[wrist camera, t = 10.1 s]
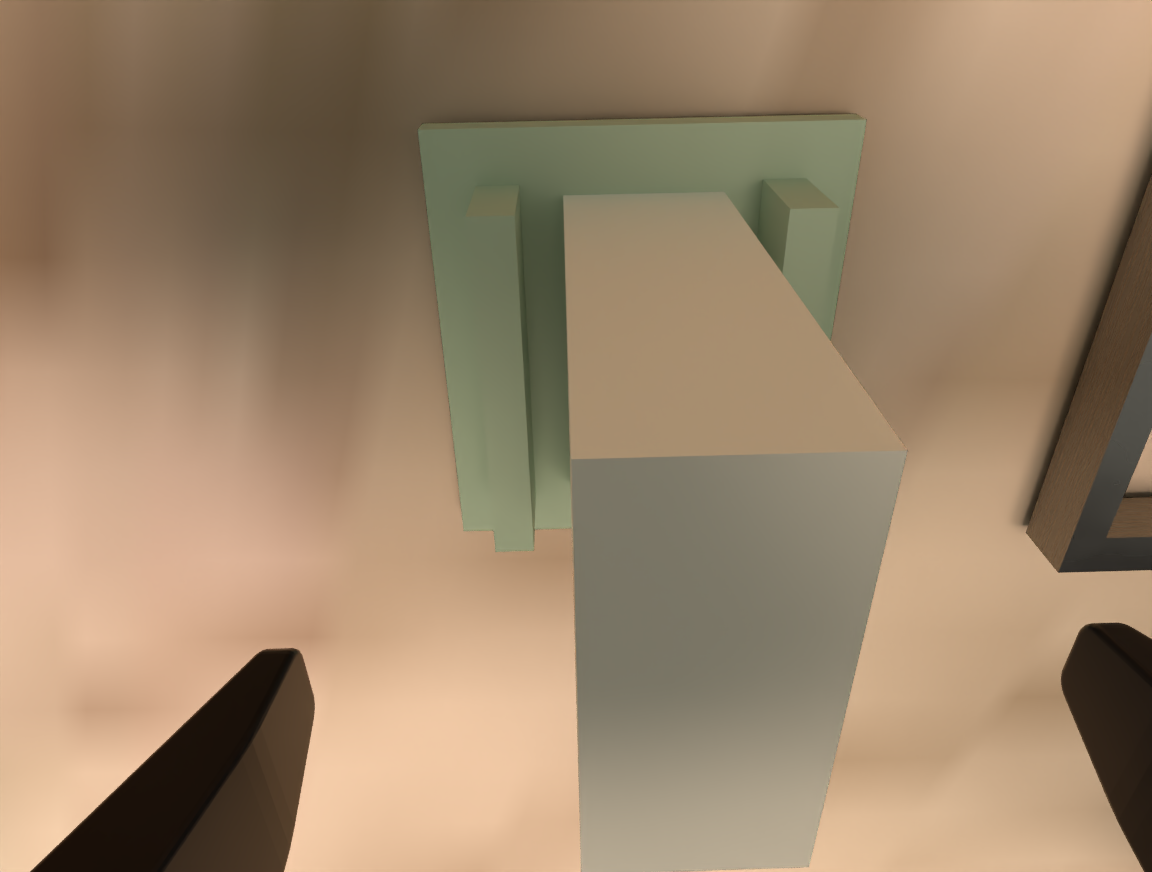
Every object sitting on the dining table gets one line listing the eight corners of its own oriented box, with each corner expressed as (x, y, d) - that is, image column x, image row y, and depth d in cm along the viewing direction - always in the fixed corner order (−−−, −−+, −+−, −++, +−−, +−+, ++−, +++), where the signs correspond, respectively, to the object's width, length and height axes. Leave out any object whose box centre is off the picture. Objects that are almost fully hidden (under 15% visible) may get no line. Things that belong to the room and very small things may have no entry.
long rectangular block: (724, 191, 15) (908, 450, 7) (701, 480, 18) (809, 867, 10) (563, 195, 15) (571, 459, 7) (570, 483, 18) (581, 874, 10)
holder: (855, 113, 15) (909, 142, 12) (794, 506, 19) (825, 578, 17) (422, 123, 15) (398, 153, 12) (466, 515, 19) (454, 589, 17)
